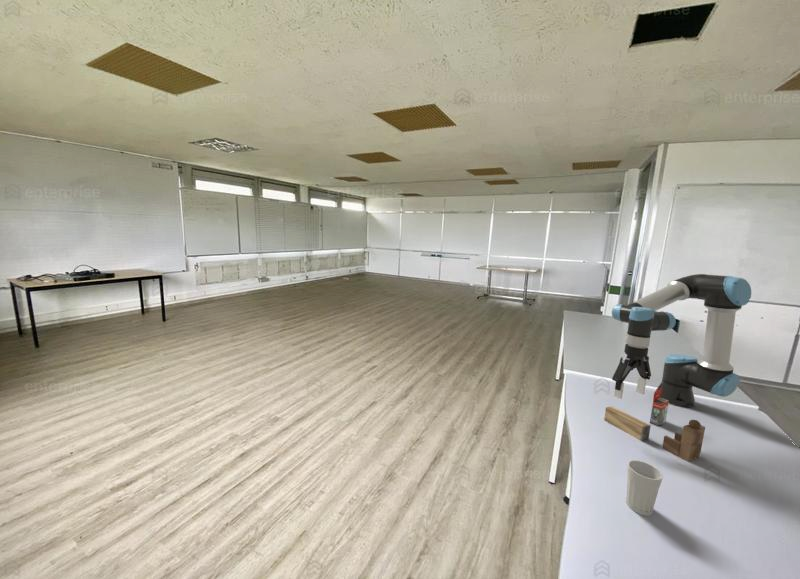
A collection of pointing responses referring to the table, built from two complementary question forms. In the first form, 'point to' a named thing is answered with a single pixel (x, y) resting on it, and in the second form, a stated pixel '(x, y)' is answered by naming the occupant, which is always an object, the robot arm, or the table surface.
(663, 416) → the ink box
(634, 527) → the table surface
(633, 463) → the cup
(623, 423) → the rail
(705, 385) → the robot arm
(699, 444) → the brown domed block
